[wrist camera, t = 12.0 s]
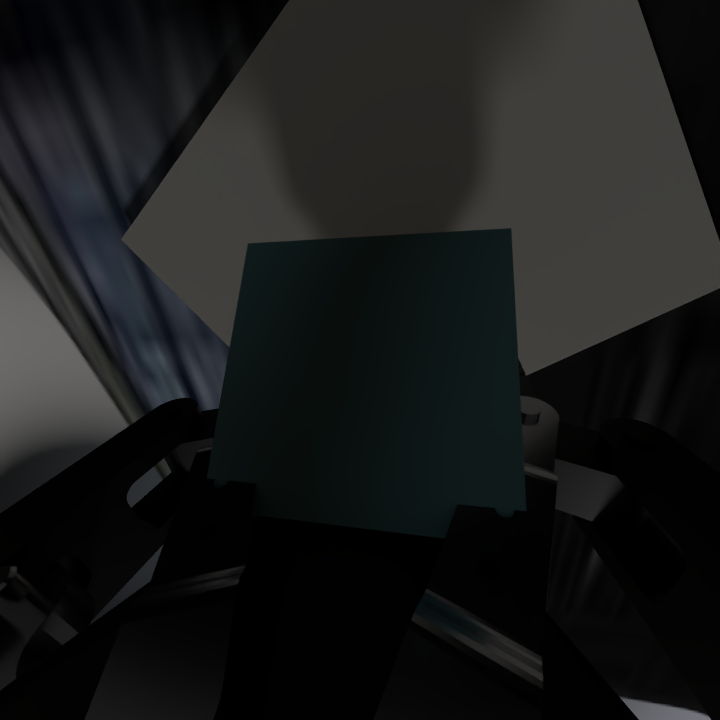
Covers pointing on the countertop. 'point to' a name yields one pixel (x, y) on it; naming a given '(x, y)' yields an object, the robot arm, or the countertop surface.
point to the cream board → (450, 158)
